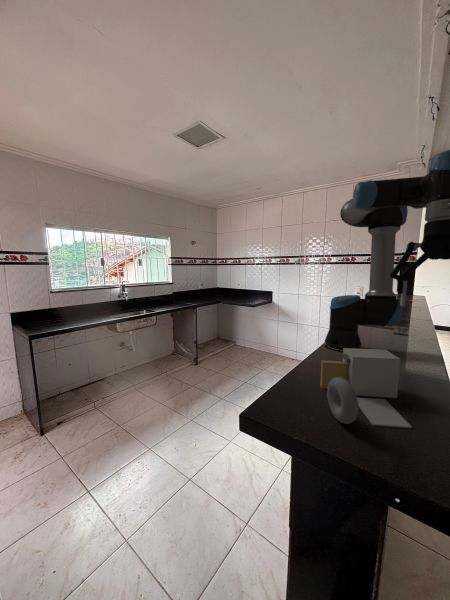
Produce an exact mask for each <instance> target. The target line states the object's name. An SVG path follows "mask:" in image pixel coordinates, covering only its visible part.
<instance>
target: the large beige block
mask: <svg viewBox="0 0 450 600" xmlns="http://www.w3.org/2000/svg"><path fill="white" fill-rule="evenodd" d="M341 357H342V361H343V362H347V363H349V370H348V382H349V383H350V384H351V385H352V387H353V389H354V391H355V393H356V396H357V397H359V396H360V397H373V398H376V397H377V398H388V399H389V398H390V399H392V398H393V399H398V393H399V392H398V391H399V381H400V380H399V378H400V367H401V358H400V357H398V356H396V355H394V354H393V353H392V352H390V351H388V350H387V349H379V348H378V349H377V348H376V349H375V348H361V349H355V348H343V352H342V354H341Z"/></svg>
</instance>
